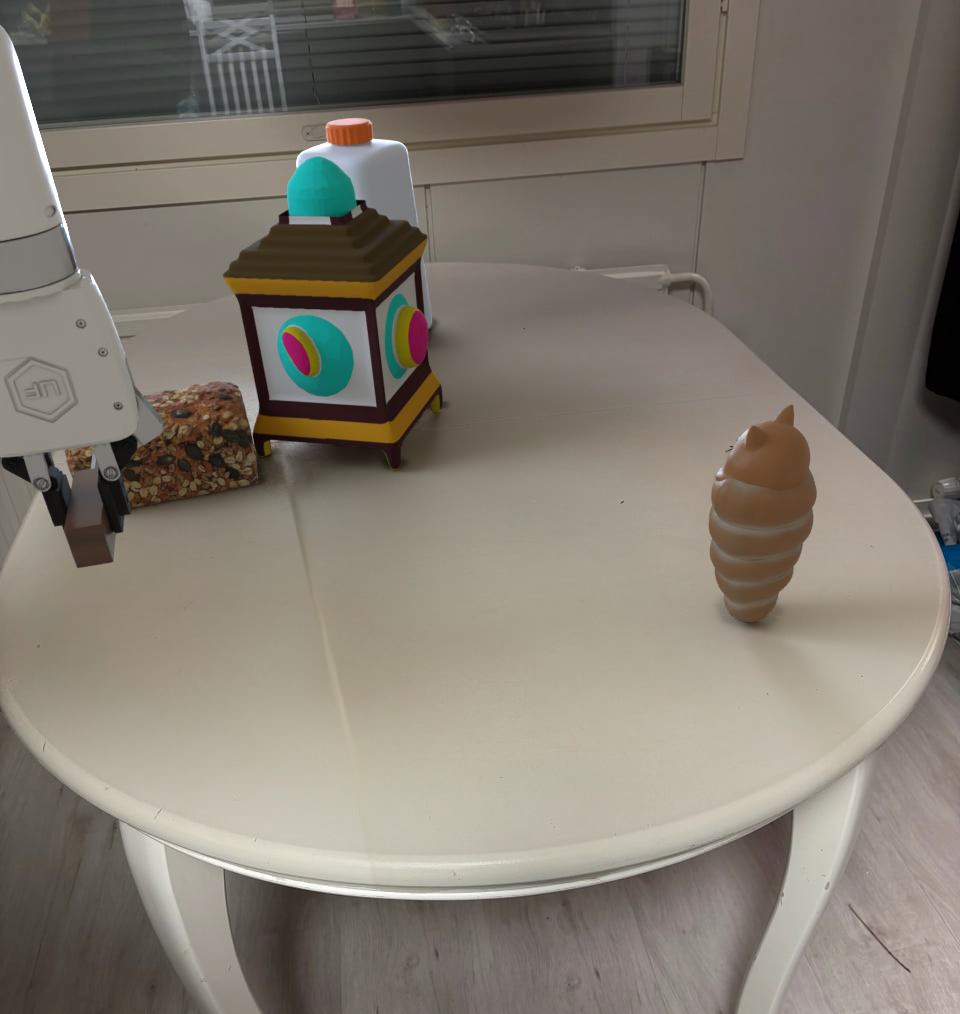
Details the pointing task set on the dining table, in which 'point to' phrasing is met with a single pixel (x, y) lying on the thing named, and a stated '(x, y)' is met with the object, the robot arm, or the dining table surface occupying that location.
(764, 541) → the cat ice cream
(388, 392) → the decorative lantern
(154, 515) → the dining table surface
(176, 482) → the bread
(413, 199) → the plastic bottle
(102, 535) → the knife
